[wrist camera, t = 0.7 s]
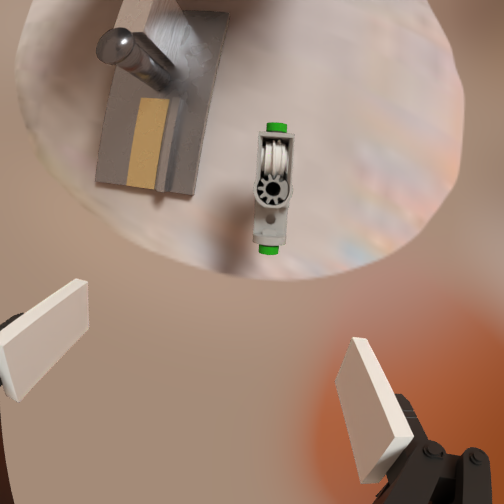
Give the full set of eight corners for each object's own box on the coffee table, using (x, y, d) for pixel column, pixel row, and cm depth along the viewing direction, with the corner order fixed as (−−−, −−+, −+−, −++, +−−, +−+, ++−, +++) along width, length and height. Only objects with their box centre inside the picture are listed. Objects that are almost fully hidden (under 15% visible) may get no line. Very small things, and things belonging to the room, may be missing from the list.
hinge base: (135, 15, 28) (88, -32, 16) (230, 16, 28) (213, -45, 16) (99, 180, 34) (31, 189, 22) (194, 194, 34) (154, 207, 22)
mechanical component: (254, 230, 35) (249, 254, 25) (260, 135, 32) (257, 120, 22) (281, 232, 34) (287, 256, 25) (288, 137, 32) (297, 123, 22)
